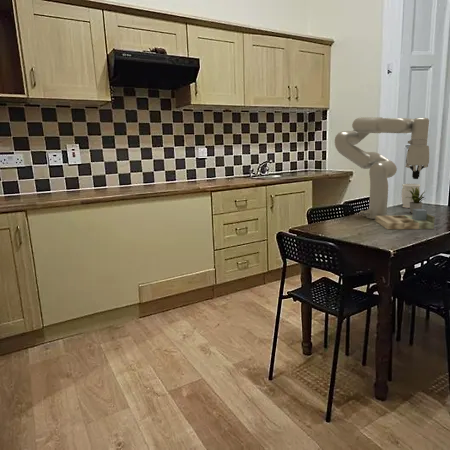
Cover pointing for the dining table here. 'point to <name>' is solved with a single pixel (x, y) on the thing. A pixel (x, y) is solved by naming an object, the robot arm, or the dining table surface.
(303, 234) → the dining table surface
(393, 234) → the dining table surface
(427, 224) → the board
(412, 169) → the robot arm
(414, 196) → the house plant
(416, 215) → the block
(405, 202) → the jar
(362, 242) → the dining table surface
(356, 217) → the dining table surface
